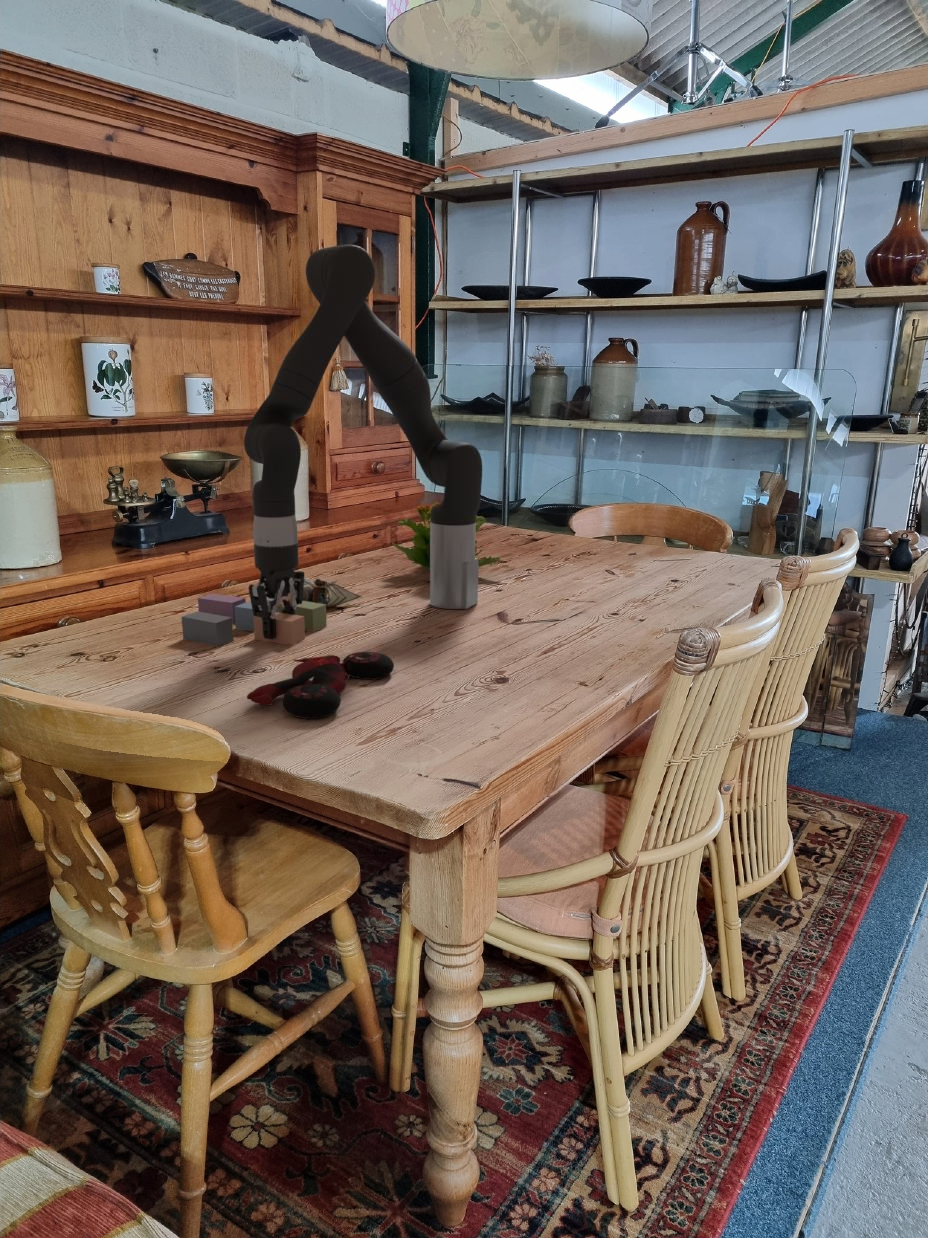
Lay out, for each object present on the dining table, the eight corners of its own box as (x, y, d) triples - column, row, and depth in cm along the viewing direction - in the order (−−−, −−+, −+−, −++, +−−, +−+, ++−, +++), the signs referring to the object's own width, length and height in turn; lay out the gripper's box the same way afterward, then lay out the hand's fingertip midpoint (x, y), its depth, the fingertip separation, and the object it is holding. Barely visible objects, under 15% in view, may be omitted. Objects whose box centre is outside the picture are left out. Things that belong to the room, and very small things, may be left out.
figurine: (299, 567, 189) (372, 574, 186) (299, 595, 191) (372, 601, 187) (257, 582, 170) (338, 589, 167) (257, 612, 171) (338, 620, 168)
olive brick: (326, 627, 164) (325, 604, 163) (313, 632, 161) (312, 609, 160) (292, 620, 168) (292, 598, 167) (279, 625, 164) (278, 603, 163)
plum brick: (246, 620, 168) (245, 598, 167) (233, 625, 164) (232, 602, 163) (212, 615, 171) (211, 593, 170) (199, 620, 167) (197, 598, 166)
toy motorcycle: (399, 679, 141) (313, 652, 146) (403, 650, 139) (316, 623, 144) (320, 740, 119) (222, 706, 123) (324, 706, 117) (224, 673, 122)
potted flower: (519, 571, 212) (521, 500, 207) (475, 591, 192) (477, 512, 187) (430, 560, 223) (430, 492, 218) (380, 578, 203) (379, 503, 198)
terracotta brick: (305, 639, 156) (304, 616, 155) (292, 645, 153) (291, 621, 151) (267, 634, 159) (266, 610, 158) (254, 639, 156) (253, 616, 154)
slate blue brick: (261, 618, 169) (260, 596, 168) (278, 621, 167) (277, 599, 166) (236, 629, 162) (234, 606, 160) (254, 632, 160) (252, 609, 159)
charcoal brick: (233, 641, 154) (231, 617, 153) (217, 647, 151) (215, 623, 150) (199, 634, 158) (198, 611, 157) (183, 640, 155) (181, 616, 153)
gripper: (269, 549, 143) (274, 647, 148) (316, 535, 156) (319, 626, 161) (232, 545, 146) (237, 642, 151) (281, 532, 159) (284, 621, 163)
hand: (279, 633), depth 156 cm, fingers open, 5 cm apart
